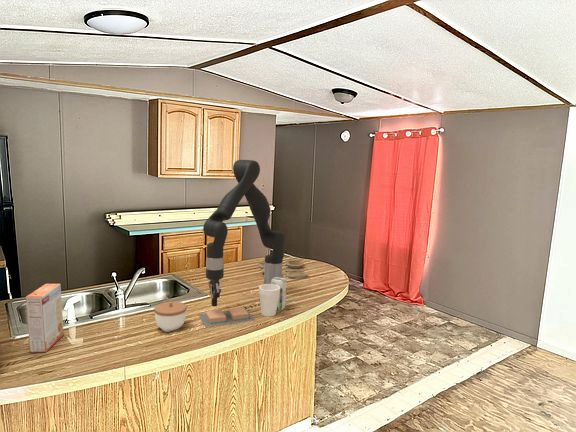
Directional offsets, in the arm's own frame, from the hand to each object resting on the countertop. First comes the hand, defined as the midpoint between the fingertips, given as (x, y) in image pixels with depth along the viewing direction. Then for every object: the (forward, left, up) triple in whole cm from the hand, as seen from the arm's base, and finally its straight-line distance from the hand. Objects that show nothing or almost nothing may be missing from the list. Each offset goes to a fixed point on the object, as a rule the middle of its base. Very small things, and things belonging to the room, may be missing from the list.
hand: (214, 305), depth 177 cm
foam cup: (-24, +3, -6) cm, 25 cm away
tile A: (-10, -2, -4) cm, 11 cm away
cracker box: (+63, +2, -6) cm, 63 cm away
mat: (-5, +1, -6) cm, 8 cm away
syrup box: (-31, -3, -6) cm, 32 cm away
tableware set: (-58, -60, -7) cm, 84 cm away
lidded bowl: (+19, +3, -6) cm, 20 cm away
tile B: (0, -2, -4) cm, 5 cm away
